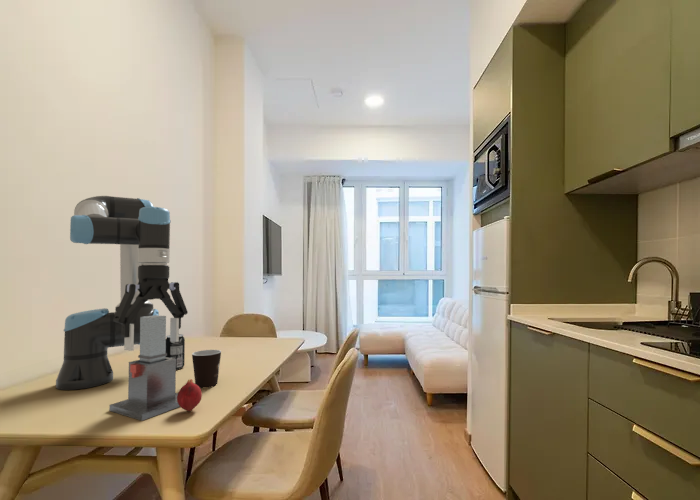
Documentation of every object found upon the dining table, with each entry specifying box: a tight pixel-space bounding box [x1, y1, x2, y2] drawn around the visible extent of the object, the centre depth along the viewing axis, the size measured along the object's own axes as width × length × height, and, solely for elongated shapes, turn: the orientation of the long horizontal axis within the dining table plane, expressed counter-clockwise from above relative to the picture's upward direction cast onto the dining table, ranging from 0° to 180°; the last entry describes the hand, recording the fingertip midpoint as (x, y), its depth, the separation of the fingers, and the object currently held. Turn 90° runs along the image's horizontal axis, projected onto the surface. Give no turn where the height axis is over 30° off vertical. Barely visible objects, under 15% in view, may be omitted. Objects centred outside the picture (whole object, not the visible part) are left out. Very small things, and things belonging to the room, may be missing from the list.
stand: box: [108, 357, 181, 421], centre depth 98 cm, size 14×14×12 cm
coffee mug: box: [191, 349, 222, 389], centre depth 118 cm, size 12×9×10 cm
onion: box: [177, 378, 203, 413], centre depth 94 cm, size 6×6×8 cm
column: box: [137, 314, 167, 364], centre depth 99 cm, size 5×5×22 cm
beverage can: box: [166, 333, 186, 371], centre depth 137 cm, size 7×7×12 cm
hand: (152, 345), depth 99 cm, fingers open, 12 cm apart
